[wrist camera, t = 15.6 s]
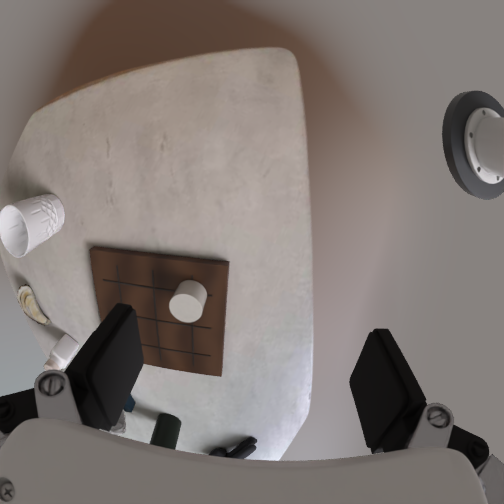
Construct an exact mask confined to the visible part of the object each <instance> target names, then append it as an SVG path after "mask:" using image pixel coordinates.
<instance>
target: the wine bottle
mask: <svg viewBox="0 0 504 504" xmlns="http://www.w3.org/2000/svg"><path fill="white" fill-rule="evenodd" d="M180 427H181V421H180V420H179V419H178V418H177V417H175V416H173V415H169V414H160V415H159V416H158V419H157V422H156V425H155V428H154V431H153V434H152V438H151V441H150V444H151V445H155V446H159V447H164V448H169V449H173V450H175V448H176V444H177V440H178V435H179V431H180Z"/></svg>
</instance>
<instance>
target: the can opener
mask: <svg viewBox="0 0 504 504" xmlns="http://www.w3.org/2000/svg"><path fill="white" fill-rule="evenodd" d="M256 442H257V440H256V439H255V438H249V439H248V440H246V441H244V442H243V443H241V444H240V445H238V446H237V447H236V448H235V449H233V450H232V451H231V452H229V453H226V451H225V450H222V449H215V450H214V451H212V452H211V453H210V454H209V456H217V457H225V458H235V459H244V458H246V457H247V456H249V455H250V454H251V453H252V452H254V451H255V450H256V446H255V445H254V444H255V443H256Z"/></svg>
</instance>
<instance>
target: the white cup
mask: <svg viewBox="0 0 504 504" xmlns="http://www.w3.org/2000/svg"><path fill="white" fill-rule="evenodd" d="M64 219H65V213H64V208H63V205H62V203H61V201H60V200H59V198H57V197H56V196H55V195H53V194H45V195H41V196H36V197H32V198H28V199H25V200H21V201H18V202H15V203H12V204H9V205H6V206H4V207H3V209H2V210H1V212H0V237H1V240H2V242H3V244H4V246H5V248H6V249H7V250H8V252H9V253H10V254H11V255H13V256H15V257H18V258H20V257H23V256H24V255H26V254H27V253H29V252H30V251H31V250H33V249H34V248H36V247H37V246H39V245H40V244H41V243H43V242H44V241H46V240H47V239H48V238H50V237H51V236H52V235H53V234H55V233H56V232H58V231H59V230H60V229H61V228H62V226H63V224H64Z"/></svg>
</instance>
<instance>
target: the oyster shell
mask: <svg viewBox="0 0 504 504" xmlns="http://www.w3.org/2000/svg"><path fill="white" fill-rule="evenodd" d="M17 300H18V302H19V304H20V305H21V308H22V309H23V311H24V313H25V314H26V315H27V316H28V317H30V318H31V319H32V320H34V321H36V322H37V323H39V324H41V325H44V326H47V325H49V324H50V323H51V321H50V320H49V319H47V318H46V317H45V316H44V315H43V313H42V311H41V310H40V308H39V306H38V303H37V301H36V300H35V297H34V293H33V291H32V290H31V288H30V286H29V285H28V286H26V284H25V285H24V286H23V285H22V286H20V288H19V291H18V295H17Z"/></svg>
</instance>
